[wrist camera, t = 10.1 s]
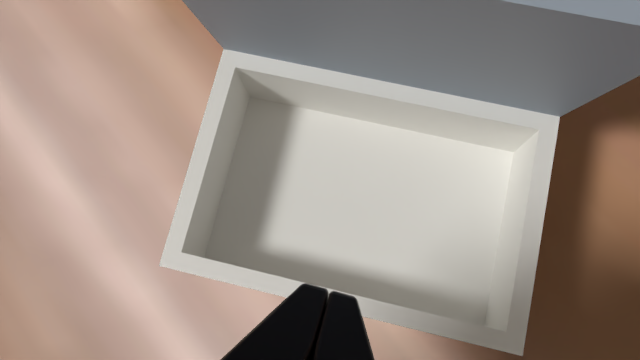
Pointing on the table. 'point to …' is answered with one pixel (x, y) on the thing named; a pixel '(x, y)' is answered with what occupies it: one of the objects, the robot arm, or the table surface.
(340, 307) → the robot arm
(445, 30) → the carton lid
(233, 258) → the carton
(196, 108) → the table surface
